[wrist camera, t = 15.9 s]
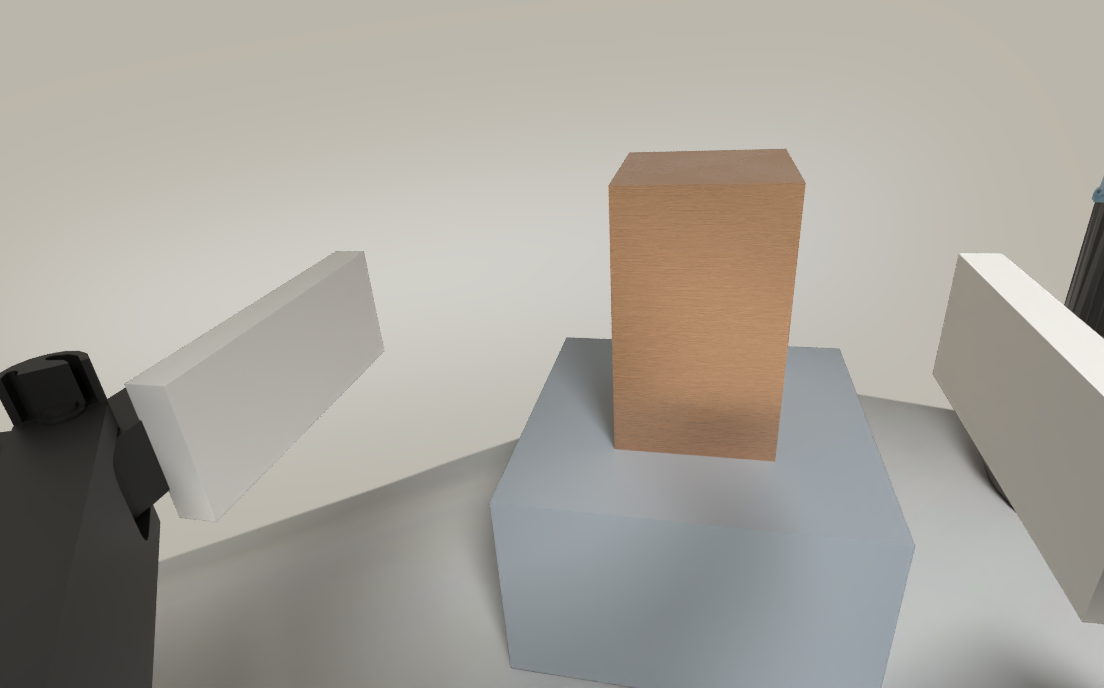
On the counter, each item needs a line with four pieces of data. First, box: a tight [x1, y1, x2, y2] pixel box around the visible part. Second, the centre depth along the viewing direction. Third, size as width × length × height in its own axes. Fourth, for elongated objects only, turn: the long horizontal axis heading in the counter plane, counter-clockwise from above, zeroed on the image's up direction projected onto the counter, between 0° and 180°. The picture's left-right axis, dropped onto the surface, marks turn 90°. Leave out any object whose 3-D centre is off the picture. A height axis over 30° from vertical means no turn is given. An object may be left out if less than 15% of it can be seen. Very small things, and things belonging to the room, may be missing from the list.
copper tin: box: [609, 149, 805, 462], centre depth 29 cm, size 7×7×12 cm
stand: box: [490, 338, 915, 688], centre depth 34 cm, size 16×16×10 cm
